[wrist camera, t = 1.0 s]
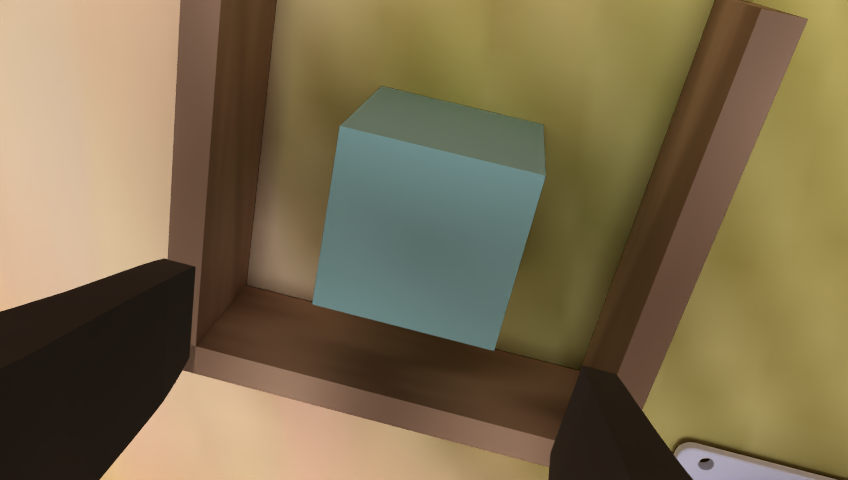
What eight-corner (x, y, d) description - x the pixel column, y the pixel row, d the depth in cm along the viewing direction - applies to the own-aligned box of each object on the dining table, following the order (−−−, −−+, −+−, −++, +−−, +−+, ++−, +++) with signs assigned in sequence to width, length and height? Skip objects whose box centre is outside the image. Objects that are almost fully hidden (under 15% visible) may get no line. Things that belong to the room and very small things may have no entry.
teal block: (543, 123, 21) (546, 175, 16) (502, 268, 23) (494, 350, 18) (382, 85, 21) (339, 125, 16) (356, 232, 23) (311, 303, 18)
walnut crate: (754, 3, 18) (807, 18, 15) (599, 401, 24) (611, 483, 20) (253, -111, 19) (186, -122, 15) (216, 302, 25) (162, 364, 21)
